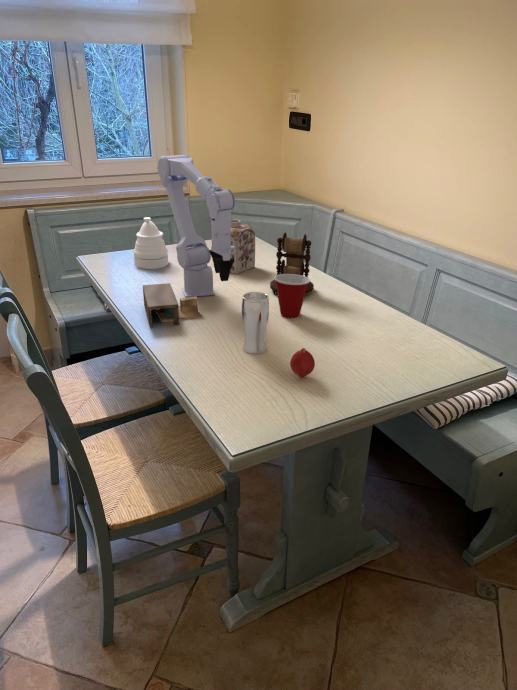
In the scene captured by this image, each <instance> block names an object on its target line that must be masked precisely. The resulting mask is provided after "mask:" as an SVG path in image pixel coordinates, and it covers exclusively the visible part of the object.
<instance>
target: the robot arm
mask: <svg viewBox="0 0 517 690" xmlns="http://www.w3.org/2000/svg"><path fill="white" fill-rule="evenodd" d="M156 167H157V173H158V175H159V180H160V182H161V185H162V186H163V187H164V188H165V190H166V194H167V197H168V201H169V204H170V207H171V210H172V213H173V217H174V220H175V223H176V227H177V230H178V233H179V236H180V240H179V242H178V244H177V245H176V247H175V251H176V259H177V263H178V265H179V266H180V267H181V268H182V269H183V287H181V290H182V293H183V295H184V298H187V297H195V296H196V297H206V296H214V294H215V293H214V273H213V272H214V271H215V273H216V274H219V280H220V281H221V282H228V281H229V279H230V278H229V277H230V274H231V273H230V270H231V267H232V265H233V263H234V261H235V259H234V258H230V252H231V250H234V249H235V247H234V246H231V220H232V213H231V212H232V210H234V208H235V206H236V198H235V195H234V193H233V192H232V191H231V189H224V188H223V187H221V186H220V185H219V184H217V183H216V182H215V181H214V180H213V178H212V177H211V176H207V175H203V174H202V173H201V172H200V170H199V169H197V167H196V166H195V164H194V159H193V158H192V157H191V156H190V155H189V154H187V153H185V154H179V155H177V154H176V155H161V156H160V157H159V158H158V162H157V166H156ZM188 182H191V183H192V184H193V185H194V186H195V191H196V193H198V195H199V196H200V197H202V199H203V200H204V201H206V206H207V208H208V211H209V212H208V216H209V218H210V221H211V222H210V225H211V227H210V228H211V230H210V232H211V248H209V247H208V245H207V242H206V240H205V239H204V238H202V237H201V236H199V235H197V232H196V229H195V225H194V222H193V219H192V216H191V212H190V209H189V205H188V203H187V199H186V195H185V192H184V188H183V187H184V186H185V185H186V184H188ZM211 260H212V262H213V268H214V271H213V268H212V266H211V265H208V264H210V262H211Z"/></svg>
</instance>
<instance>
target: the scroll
mask: <svg viewBox="0 0 517 690" xmlns="http://www.w3.org/2000/svg"><path fill="white" fill-rule="evenodd" d="M276 243H277V251H276V253H275V254H276V258H277V260H276V267H275V269H276V275H275V276H277V275H280V274H296V275H302V276H305V277H308V278H309V273H310V260H311V250H310V248H311V246H312V241H311V240H308V237H307V233H304V235H303V238H297V237H288V236H287V232H283V234H282V237H278V238H277V239H276ZM282 251H283V252H284V253H283V252H282ZM282 258H285V259H286V260H285V259H282ZM281 259H282V260H281ZM269 287H270V289H271V291H272V293H273V295H274V296H275V295H276V294H278V292H277V286H276V281H275V279H273V280H271V281H270V283H269ZM314 287H315V285H314V282H312V281H310V282H309V283H308V286H307V289H306V292H305V295H307V294H310V293H312V292H313V291H314Z"/></svg>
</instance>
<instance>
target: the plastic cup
mask: <svg viewBox="0 0 517 690" xmlns="http://www.w3.org/2000/svg"><path fill="white" fill-rule="evenodd" d="M276 275H277V274H276ZM276 275H275V276H274V277H273V280H275V281H276V286H277V292H278V293H277V292H276V293H277V299H278V306H279V311H280V312H279V313H280V316H281V317H283V318H286V319H296V318H297V319H298V317H300V314H301V311H302V307H303V303H304V300H305V295H306V294H305V292H306V289H307V286H308V283H309V282H311V278H310V277H309V276H308V277H305V275H303V276H302V275H296V274H280V275H277V276H276Z"/></svg>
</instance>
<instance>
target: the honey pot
mask: <svg viewBox="0 0 517 690" xmlns="http://www.w3.org/2000/svg"><path fill="white" fill-rule="evenodd" d="M151 219H152V218H151V217H149V216H148V217H146V216H145V217H143V221H144V222H143V223H142V225H141V227H140V229H139V231H138V232H137V233H136V235H135V236H136V237H137V238H136V241H135V245H134V249H133V262H134V267H136V268H139V269H144V270H146V269H147V270H150V269H151V270H154V269H161V268H164V267H166V266H168V265H169V253H168V248H167V246H166V244H165V241H164V238H163V236H164V232H163V231H160V230H159V229H158V226H157V225H156V224H155V223H154V222H153V221H151Z"/></svg>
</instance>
